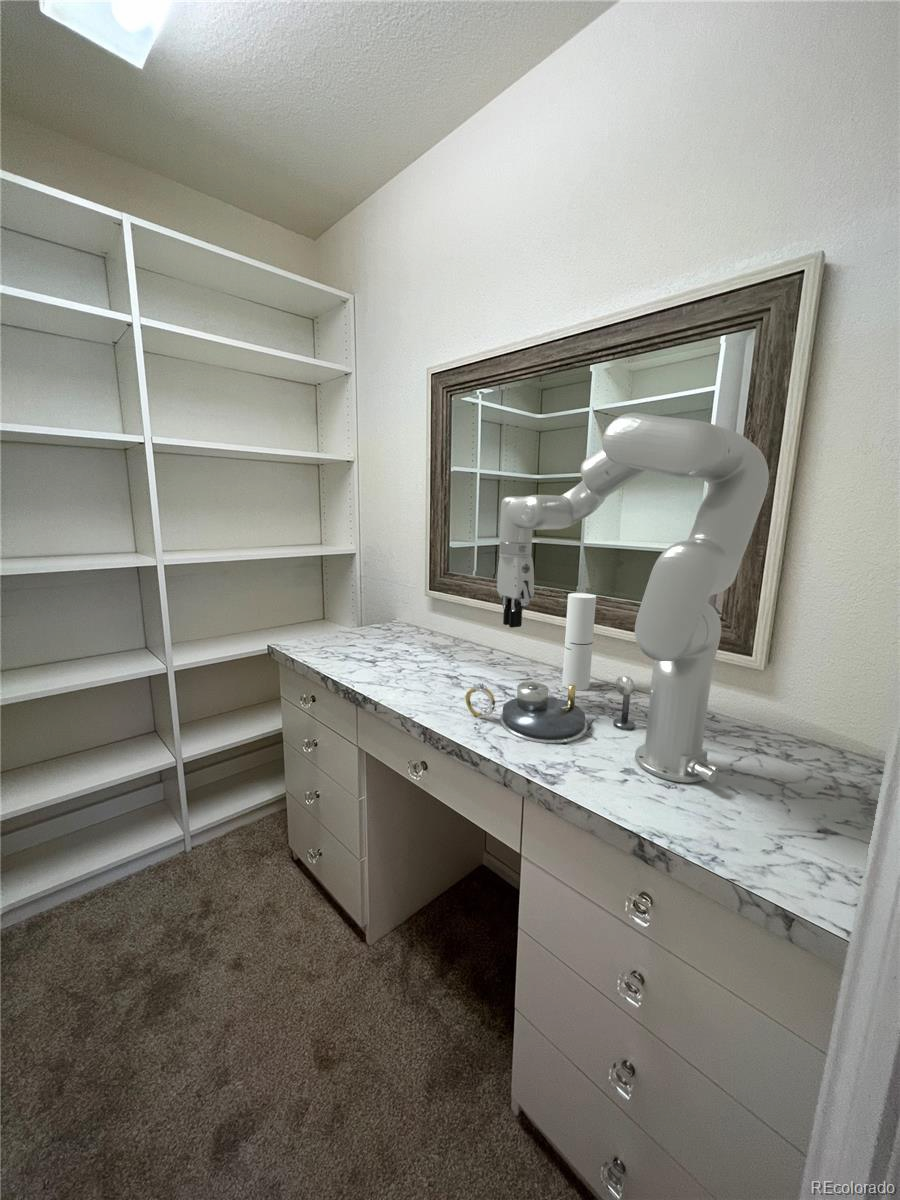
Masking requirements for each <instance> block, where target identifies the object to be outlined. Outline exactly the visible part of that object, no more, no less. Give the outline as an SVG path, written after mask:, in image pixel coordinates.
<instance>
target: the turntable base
mask: <svg viewBox="0 0 900 1200" xmlns="http://www.w3.org/2000/svg"><path fill="white" fill-rule="evenodd" d="M502 715H503V712H502V713H501V715H500V716H499V717H500V718H499V723H500V725H501V727H502V728H503V730H505V731H506V732H508V733H509V734H511V735H513V736H514V737H517V738H519V739H522V740H525V741H529V742H533V743H540V744H548V745H549V744H567V743H571V742H575V741H577V740H579V739H581V738H583V737H585V735H586V733H587V732H588V731H587V730H588V725H587V723H586V721H585V728H584V730H583V731H582V732H581V733H580V734H578V735H576V736H573V737H569V738H564V739H541V738H535V737H530V736H526V735H523V734H520V733H518V732H516V731H514V730H512V729H510V728H509V727H508V726H507V725H506V724H505V723H504V721H503V718H502Z"/></svg>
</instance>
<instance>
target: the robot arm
mask: <svg viewBox="0 0 900 1200" xmlns="http://www.w3.org/2000/svg"><path fill="white" fill-rule="evenodd" d="M648 472H652V473H657V474H660V475H661V474H662V475H667V476H670V477H675V478H680V479H685V480H692V481H698V482H706V483H707V484H708V485H709V486H708V487H709V488H708V492H707V493H706V495H705V497H704V499H703V501H702V502H701V504H700V505H699V509H698V511H697V514H696V516H695V520H694V523H693V526H692V529H691V532H690V534H689V536H688V539H685V540H682V541H679V542H676V543H673V544H671V545H669V547H667V548H665V549H664V551H662V552H661V554H660V555H659V556H658V558H657V559H656V561H655V563H654V564H653V568H652V570H651V573H650V575H649V579H648V582H647V585H646V587H645V591H644V594H643V596H642V601H641V603H640V606H639V610H638V612H637V616H636V620H635V624H634V636H635V637H634V638H635V641H636V643H637V646H638V649H640V651H641V652H642V653H643V654H644V655H645V656H646V657H647V658H649V659H651V660H654V661H653V662H654V663H653V668H652V675H651V681H650V691H649V693H650V694H649V702H648V710H647V713H648V714H647V721H646V722H647V723H646V731H645V732H646V733H645V740H644V741H645V742H644V744H641V745H640V746H638V747H637V748H636V750H635V752H634V753H635V754H634V758H635V761H636V763H637V765H639V766H640V767H641V768H642V769H643V770H644V771H646V772H648V773H649V774H651V775H653V776H656V777H658V778H660V779H661V778H662V779H664V780H668V781H672V782H676V783H689V784H690V783H699V782H702V781H704V780H705V781H707V782H708V783H710V784H711V783H714V782H715V781H716V779H717V776H718V775H717V774H718V773H719V772H720V768H719V766H716V764H713V763H710V762H708V761H709V760H708V751H707V750H705V749H703V745H704V744H703V743H704V736H705V729H706V722H707V721H706V719H707V714H708V704H709V698H710V697H709V696H710V692H711V684H712V676H713V671H714V670H713V669H714V666H715V665H714V664H715V661H716V657H717V652H718V649H719V645H720V640H721V638H722V637H721V635H722V622H721V618H720V615H719V614H718V612H717V610H716V609H715V608H714V606H712V605H711V604H710V603H708V602H709V599H710V598H711V596H714V595H717V594H720V593H722V592H724V591H726V590H727V589H729V588H730V587H731V586H732V584H733V583H734V581H735V579H736V577H737V575H738V571H739V569H740V566H741V563H742V560H743V558H744V556H745V555H744V554H745V553H746V550H747V547H748V545H749V543H750V540H751V537H752V534H753V531H754V527H755V525H756V522H757V519H758V518H759V517H758V516H759V514H760V511H761V509H762V505H764V501H765V498H766V495H767V491H768V486H769V479H770V473H769V467H768V463H767V460H766V458H765V456H764V454H763V453H762V451H761V450H760V449H759V447H758V446H756V444H754V443H753V441H751V440H749V439H748V438H747V437H746V436H743V435H742V434H740V433H738V432H735V431H733V430H731V429H728V428H725V427H723V426H719V425H716V424H713V423H710V422H707V421H702V420H696V419H687V418H686V419H685V418H678V417H671V416H669V417H668V416H664V415H663V416H661V415H653V414H645V413H641V412H629V413H625V414H622V415H619V416H618V417H616V418H615V419H614V420H613V421H612V422H611V423H610V424H609V425H608V426H607V427H606V428H605V431H604V432H603V436H602V441H601V448H600V449H598V450H597V451H595V452H594V453H593V454H590V455H589V456H588V457H587V458H585V459H584V460H583V461H582V463H581V465H580V475H581V479H582V480H581V481H580V482H579V483H577V485H576V486H574V487H572V488H571V489H569V490H568V491H566V492H565V493H563V494H561V495H555V494H554V495H552V494H546V495H545V494H531V495H526V496H515V495H514V496H506V497H503V499H502V500H501V504H500V528H499V529H500V530H499V532H500V533H499V554H498V555H499V559H498V560H499V561H498V566H497V577H496V578H497V579H496V590H497V593H498V597H499V598H500V599H501V602H502V608H503V616H502V617H503V619H502V624H503V625H504V626H508V627H510V628H512V629H513V628H520V627H522V625H523V624H522V621H523V611H524V608H525V606H528V605H529V604H530V599H533V598H534V596H535V595H534V593H535V570H534V561H533V557H532V551H533V550H532V549H533V531H534V530H537V531H539V530H540V531H541V530H542V531H546V530H563V529H566V528H569V527H571V526H573V525H575V524H576V523H579V522H580V521H581V520H583V519H585V518H587V517H589V516H590V515H592V514H593V513H594V512H595V511H597V510H598V508H600V507H601V505H602V504H603V503H604V501H606V499H607V497H609V496H611V494H613V493H615V492H616V491H619V490H620V489H621V488H623V487H625V486H627V485H628V484H630V483H631V482H633V481H635V480H637V479H638V478H640V477H642V476H643V475H644V474H647V473H648Z"/></svg>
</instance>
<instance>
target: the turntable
mask: <svg viewBox="0 0 900 1200" xmlns="http://www.w3.org/2000/svg"><path fill="white" fill-rule="evenodd" d="M576 691H577V690H576V686H575V685H569V686H568V688H567V700H564V699H561V698H556V697H552V696H551V697H550V696H548V705H547V708H545V709H543V710H527V709H524V708H521V707H519V706H518V705H517V697H515V698H513V699H510V700H508V701H507V702H505V703H504V704H503V706H502V713H503V715H502V718H503V721H504V723H505V724H506V725H507V726H508V727H509V728H510V729H512V730H514V731H516V732H518V733H520V734H523V735H526V736H530V737H535V738H541V739H564V738H569V737H573V736H576V735H578V734H580V733H581V732H582V731H583V730H584V728H585V722H586V714H585V712H584V711H583V709H582V708H580V707H579V706H578V705H576V704H575V703H576Z"/></svg>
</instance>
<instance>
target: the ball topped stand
mask: <svg viewBox="0 0 900 1200" xmlns="http://www.w3.org/2000/svg"><path fill="white" fill-rule="evenodd" d="M615 687H616V690H617V692H618V694H620V695H621V696H622V707H621V717H620V718H619V717H617V718H614V719H613V727H615V728H617V729H619V730H621V731H633V730H635V728H636V724H635V722H634V721H633V720H630V719H629V713H630V701H631V695H632V694H633V693H634V691H635V683H634V681H633V679H632V678H631V677H630V676H628V675H623V676H618V677H617V679H616V681H615Z"/></svg>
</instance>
